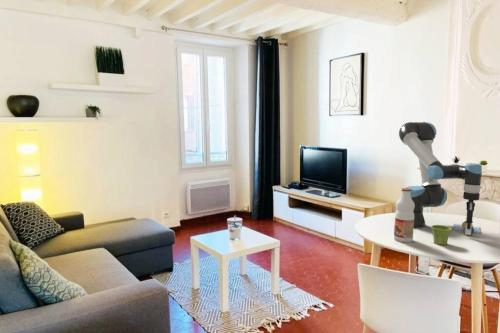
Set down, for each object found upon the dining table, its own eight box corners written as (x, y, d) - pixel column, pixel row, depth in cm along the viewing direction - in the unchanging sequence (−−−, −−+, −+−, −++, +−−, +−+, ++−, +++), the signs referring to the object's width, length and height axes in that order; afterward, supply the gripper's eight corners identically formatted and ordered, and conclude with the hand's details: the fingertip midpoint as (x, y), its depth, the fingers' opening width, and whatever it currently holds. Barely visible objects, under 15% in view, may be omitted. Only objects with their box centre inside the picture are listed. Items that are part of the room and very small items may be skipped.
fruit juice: (412, 243, 193) (416, 190, 189) (393, 241, 196) (396, 189, 193) (412, 238, 201) (416, 187, 198) (394, 236, 205) (397, 186, 201)
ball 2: (467, 221, 210) (466, 229, 213) (461, 226, 208) (460, 233, 211) (477, 227, 205) (475, 234, 208) (470, 231, 204) (469, 238, 207)
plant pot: (441, 247, 188) (442, 230, 187) (426, 241, 196) (427, 225, 195) (454, 245, 191) (455, 228, 190) (438, 239, 200) (440, 224, 199)
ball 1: (466, 219, 216) (465, 218, 220) (459, 226, 217) (459, 226, 222) (475, 225, 213) (474, 224, 218) (468, 232, 214) (468, 232, 219)
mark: (481, 233, 212) (481, 233, 212) (453, 229, 219) (453, 229, 219) (479, 227, 224) (479, 227, 224) (453, 223, 231) (453, 223, 231)
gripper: (480, 194, 193) (476, 238, 196) (479, 190, 205) (475, 232, 208) (463, 193, 197) (460, 236, 200) (463, 189, 208) (460, 230, 211)
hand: (467, 234), depth 204 cm, fingers closed
